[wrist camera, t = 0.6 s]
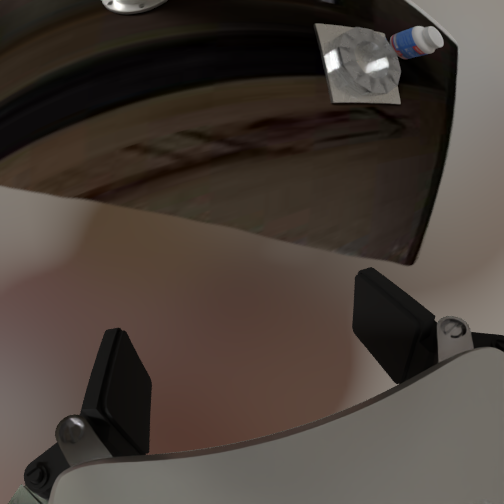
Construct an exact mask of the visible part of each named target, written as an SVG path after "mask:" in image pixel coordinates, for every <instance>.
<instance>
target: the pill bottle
mask: <svg viewBox="0 0 504 504" xmlns="http://www.w3.org/2000/svg"><path fill="white" fill-rule="evenodd" d="M390 44H391V47H392V48H393V50H394V51H395V53H396V54H397V55H398V56H399V57H400V58H402V59H410V58H414V57H418V56H422V55H426V54H430V53H433V52H434V51H435V48H440V47H442V46H443V38H442V36H441V34H440V33H439V31H438V30H437V29H436V28H434V27H432V26H429V27H426V28H424V27H421V26H416V27H413V28H410V29H407V30H405V31H402V32H399V33H397V34H394V35H392V36H391V38H390Z"/></svg>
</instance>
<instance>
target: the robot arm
mask: <svg viewBox="0 0 504 504" xmlns="http://www.w3.org/2000/svg"><path fill="white" fill-rule="evenodd" d="M166 1H168V0H102V2H103V4H104V6H105V7H106V8H107V9H108V10H110V11H112V12H114V13H118V14H137V13H141V12H145V11H148V10H151V9H154V8H156V7H158V6H160V5H162V4H163V3H165V2H166ZM353 310H354V311H353V324H352V328H353V332H354V333H355V335H356V336H357V337H358V338H359V340H360V341H361V342H362V343H363V344H364V346H365V347H366V348H367V349H368V350H369V352H370V353H371V354H372V355H373V357H374V358H375V359H376V360H377V361H378V363H379V364H380V365H381V366H382V368H383V369H384V370H385V371H386V373H388V375H389V376H390V377H391V379H392V380H393V381H394V382H395V383H396V384H399V385H397V386H395V387H393V388H391V389H389V390H387V391H385V392H383V393H381V394H379V395H377V396H375V397H373V398H370V399H368V400H366V401H364V402H362V403H359V404H357V405H355V406H352V407H350V408H348V409H345V410H343V411H340V412H338V413H335V414H332V415H330V416H327V417H325V418H322V419H319V420H316V421H313V422H310V423H307V424H304V425H301V426H298V427H295V428H292V429H289V430H285V431H282V432H278V433H275V434H271V435H267V436H263V437H260V438H256V439H251V440H247V441H242V442H238V443H233V444H228V445H223V446H217V447H211V448H205V449H199V450H192V451H183V452H174V453H165V454H155V455H146V453H149V436H150V432H149V431H150V407H151V390H152V382H151V379H150V376H149V375H148V373H147V371H146V369H145V368H144V366H143V364H142V362H141V360H140V359H139V356H138V355H137V352H136V351H135V349H134V347H133V345H132V343H131V341H130V339H129V336H128V334H127V333H126V331H122V330H121V329H120V328H114V329H108V330H106V331H105V334H104V336H103V339H102V342H101V345H100V348H99V351H98V354H97V357H96V360H95V363H94V366H93V369H92V373H91V376H90V379H89V383H88V386H87V390H86V393H85V397H84V401H83V405H82V409H81V413H80V415H70V416H67V417H65V418H64V419H63V420H61V421H60V423H59V424H58V425H57V428H56V431H55V436H56V440H57V443H56V444H54V445H53V446H52V447H51V448H49V449H48V450H47V451H45V452H44V453H43V454H42V455H40V456H39V457H38V458H36V459H35V460H34V461H32V462H31V463H30V464H29V465H28V466H27V468H26V469H25V473H24V481H25V484H26V485H25V486H23V485H22V484H21V486H20V487H19V488H18V490H17V491H16V493H15V494H14V496H13V497H12V499H11V500H10V501H9V503H8V504H504V336H503V335H496V334H485V333H476V332H471V331H470V328H469V325H468V324H467V323H466V322H465V321H464V320H462V319H461V318H458V317H454V316H446V317H443V318H441V319H440V320H439V321H438V323H437V322H436V321H435V320H434V319H435V315H433V314H432V313H431V312H430V311H428V310H427V309H426V308H425V307H423V306H422V305H421V304H420V303H418V302H417V301H416V300H415V299H413V298H412V297H411V296H410V295H408V294H407V293H406V292H404V291H403V290H402V289H400V288H399V287H398V286H397V285H395V284H394V283H393V282H391V281H390V280H389V279H387V278H386V277H385V276H383V275H382V274H381V273H379V272H378V271H377V270H375V269H374V268H372V267H370V268H367V269H363V270H360V271H359V272H358V275H356V277H355V290H354V309H353Z"/></svg>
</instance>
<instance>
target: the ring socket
mask: <svg viewBox="0 0 504 504" xmlns="http://www.w3.org/2000/svg"><path fill="white" fill-rule="evenodd" d="M313 26H314V30H315V34H316V38H317V41H318V45H319V49H320V53H321V58H322V62H323V66H324V71H325V75H326V80H327V85H328V90H329V95H330V100H331V103H381V104H401V102H400V96H399V91H398V82H399V78H400V74H401V69H400V65H399V61H398V57H397V54H396V53H395V51H394V50H393V48H392V47H391V45H390V44H389V43H388V41H387V40H386V37H385V34H384V33H380V32H375V31H373V30H372V29H366V28H360V27H355V28H352V27H345V26H338V25H329V24H317V23H315V24H314V25H313Z"/></svg>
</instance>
